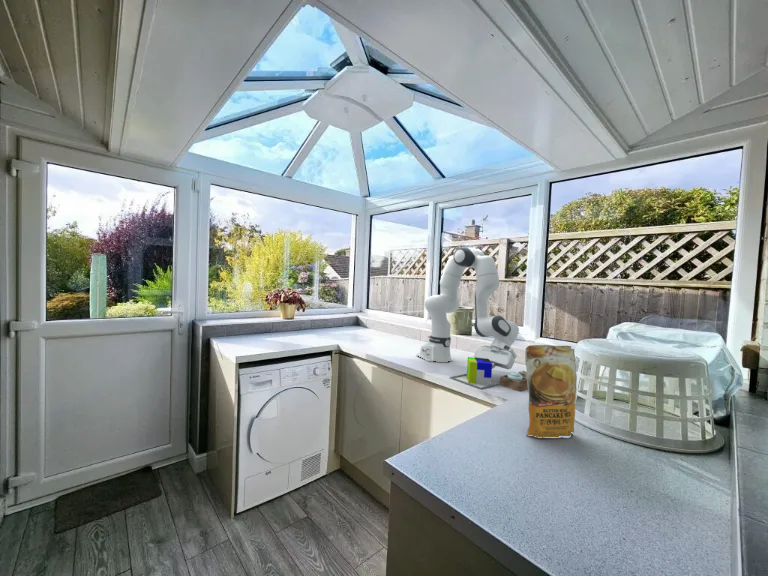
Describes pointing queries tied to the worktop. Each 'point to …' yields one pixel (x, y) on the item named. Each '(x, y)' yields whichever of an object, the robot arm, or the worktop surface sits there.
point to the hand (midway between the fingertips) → (486, 370)
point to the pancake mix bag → (551, 390)
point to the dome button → (515, 376)
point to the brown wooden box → (515, 382)
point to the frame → (471, 384)
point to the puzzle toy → (479, 371)
